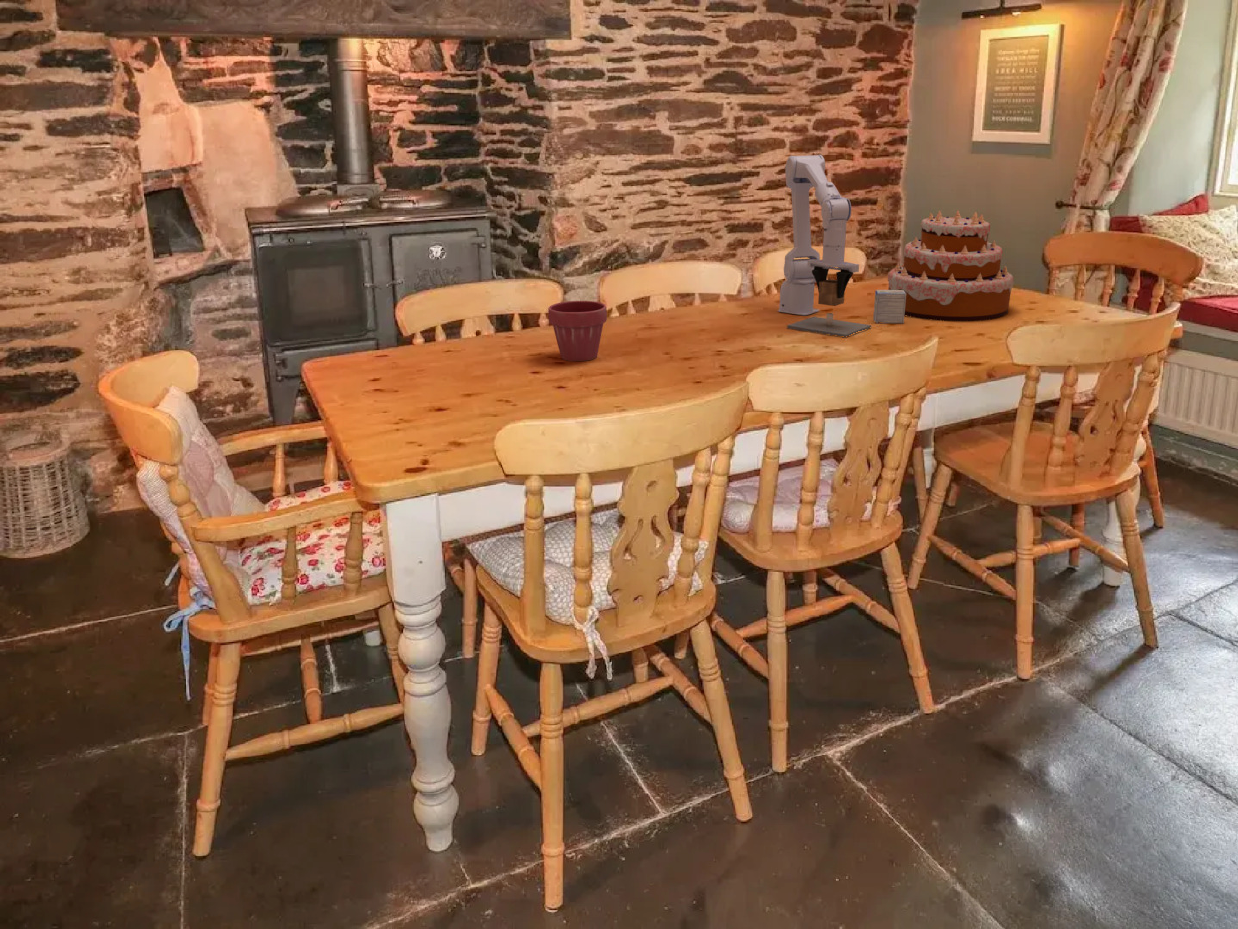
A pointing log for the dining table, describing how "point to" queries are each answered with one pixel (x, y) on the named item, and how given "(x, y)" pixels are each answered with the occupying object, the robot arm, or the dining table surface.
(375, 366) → the dining table surface
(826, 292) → the walnut collar
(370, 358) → the dining table surface
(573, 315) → the plant pot
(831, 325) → the pin board
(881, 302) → the medicine box
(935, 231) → the cake
